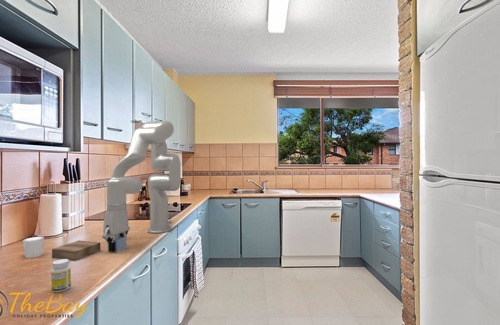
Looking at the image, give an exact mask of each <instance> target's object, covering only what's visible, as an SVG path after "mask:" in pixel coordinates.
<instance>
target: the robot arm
mask: <svg viewBox="0 0 500 325" xmlns="http://www.w3.org/2000/svg"><path fill="white" fill-rule="evenodd" d="M174 131H175V129H174V125H173V123H172V122H171V121H168V120H160V121H157V120H156V121H153V120H152V121H147V122H143V123H142V124H141V127H138V128H135V129H134V130H133V133H132V135H131V138H130V142H129V146H128V149H127V153H126V155H125V156H124V157H123V158H122V159H121V160H120V161H119V162H118V163H117V164H116V165H115V166H114V168H113V170H112V172H111V176H110V178H109V179H108V180H107V182H106V211H105V213H104V217H103V234H102V235H101V237H102V239H104V240H105V241H106V242H107V251H108V252H110V251H111V253H116V252H115V242H114V240H115V235H117V234H119V236H120V237H126V238H127V235H128V233H129V231H130V229H131V227H130V226H129V215H128V209H127V195H134V194H135V195H136V194H137V193H139V192H141V190H142V188H143V182H142V181H141V179H140V178H137V177H125V175H126V173H128V171H129V170H131V169H132V168H133V167H136V166H137V165H140V164H141V163H143V162H144V161H145V160H146V157H147V153H148V150H149V146H150V167H151V169H152V170H154V171H156V172H159V173H153V174H151V175H150V176H149V177H148V179H147V186H148V189H149V191H148V192H149V212H150V213H149V218H150V219H149V221H150V222H149V224H150V225H149V228H147V229H146V231H147V233H149V234H163V233H167V232H170V231H171V230H172V227H171V226H170V225H171V224H173V221H172V220H171V219H170V220H169V197H168V195H167V192H176V191H178V190H179V188H180V187H181V170H182V169H181V163H182V162H181V159H180V157H179V156H178V154H176V153H168V144H167V141H166V140H168V139H169V138H170V137H172V135H173V134H174ZM160 172H168V173H160ZM111 236H112V239H111Z"/></svg>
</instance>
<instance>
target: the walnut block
mask: <svg viewBox="0 0 500 325" xmlns="http://www.w3.org/2000/svg"><path fill="white" fill-rule="evenodd" d="M101 250H102V249H101V242H98V241H89V240H88V241H86V240H76V241H73V242H70V243H67V244H63V245H60V246H57V247H54V248H52V249H51V258H52V259H57V260H61V259H68V260H69V261H72V262H73V261H74V262H76V261H78V260H81V259H83V258H86V257H89V256H92V255H94V254H96V253H99V252H101Z"/></svg>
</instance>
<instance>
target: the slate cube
mask: <svg viewBox="0 0 500 325" xmlns="http://www.w3.org/2000/svg"><path fill="white" fill-rule="evenodd" d="M111 239H112V238H111ZM114 242H115V252H114V253H119V252H121V251H124V250H126V249H127V237H115V240H114ZM109 252H111V251H109ZM111 253H112V252H111Z"/></svg>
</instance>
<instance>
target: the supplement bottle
mask: <svg viewBox="0 0 500 325" xmlns="http://www.w3.org/2000/svg"><path fill="white" fill-rule="evenodd" d="M50 271H51V272H50V274H51V275H50V276H51V291H52V293H61V292H65V291H68V290H70V288H71V285H72V282H71V281H72V278H71V276H72V275H71V274H72V273H71V265H70V260H68V259H57V260H54V261H53V262H52V269H51V270H50Z"/></svg>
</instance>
